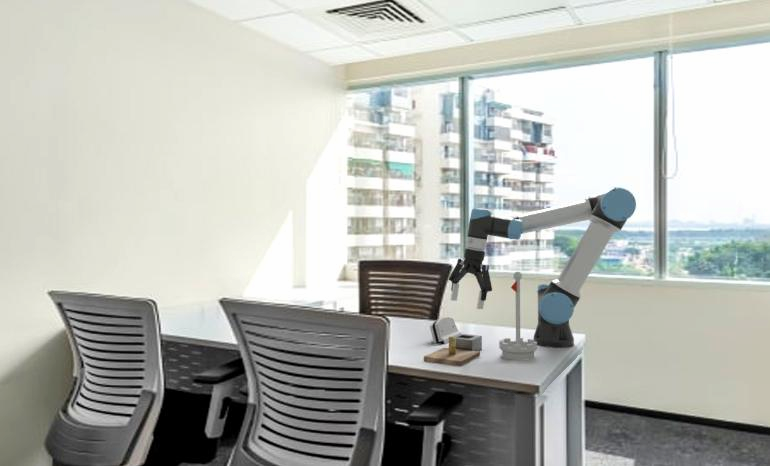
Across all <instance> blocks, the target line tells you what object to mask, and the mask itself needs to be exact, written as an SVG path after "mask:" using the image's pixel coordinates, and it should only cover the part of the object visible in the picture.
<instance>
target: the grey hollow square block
mask: <svg viewBox="0 0 770 466" xmlns="http://www.w3.org/2000/svg"><path fill="white" fill-rule="evenodd" d="M454 337H456V349H461V350H469V351H478V352H480V351H481V350H483V337H482V335H477V334H469V333H468V334H467V333H461V334H457V335H455V336H454Z"/></svg>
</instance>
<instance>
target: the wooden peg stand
mask: <svg viewBox="0 0 770 466" xmlns="http://www.w3.org/2000/svg"><path fill="white" fill-rule="evenodd" d="M479 357H481V352H480V351H469V350H461V349H456V337H454V336H450V337H449V343H448V347H442V348H441V349H438V350H435V351H434V352H430V353H428V354H426V355H424V356H423V361H424V362H429V363H430V362H431V363H437V364H443V365H444V364H446V365H452V366H460V367H462V366H463V365H466V364H468V363H469V362H471V361H473V360H475V359H478V358H479Z"/></svg>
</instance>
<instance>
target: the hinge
mask: <svg viewBox="0 0 770 466" xmlns="http://www.w3.org/2000/svg"><path fill="white" fill-rule="evenodd" d="M429 330H430V332H431V336H432V340H433V344H437V343H440V342H443V344H444V345H446V344H449V337H450V336H455V335H457V334H462V332H460V331H459V330H458V328H457V324H456V322H455V320H454V318H452V317H450V316H446V317H441V318H438V319H436V320H434V321H433V322H432V323H431V324H430V325H429Z"/></svg>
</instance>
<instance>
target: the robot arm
mask: <svg viewBox="0 0 770 466" xmlns="http://www.w3.org/2000/svg"><path fill="white" fill-rule="evenodd" d="M636 207H637V200H636V198H635V196H634V195H633V193H632V192H631V191H630V190H628V189H626V188H623V187H620V186H616V187H615V186H614V187H610V188H608V189H606V190H604V191H602V192H600V193H597V194H594V195H591V196H587V197H585V198H584V200H580V201H576V202H572V203H567V204H561V205H558V206H553V207H549V208H544V209H540V210H535V211H531V212H530V211H529V212H527V213H522V214H517V215H512V216H507V217H503V216H496V215H492V213H493V212H492V210H491V209H485V208H479V207H473V208H472V209H471V213H470V218H469V223H468V229H467V230H468V231H467V236H466V243H465V247H466V248H465V249H464V255H463V258H457V262H456V265H455V266H454V268H453V270H452V272H451V274H450V275H449V277H448V281H450V282H451V287H450V288H451V289H450V290H451V296H450V301H453V302H454V301H457V300H458V296H459V295H458V294H459V288H460V281H461V280H462V279H463V278H464V277H465V276H466V275H467V274H471V275H473V276H474V277H475V278H476V281H477V283H478V285H479V288H480V291H479V292H478V296H477V297H478V298H477V305H476V310H483V309H484V305H485V301H486V300H487V296H488V293H489V292H492V291H493V288H492V287H493V286H492V281H491V277H490V272H489V271H490V270H489V269H490V266H489V264H483V261H484V260H485V254H486V252H485V251H486V249H487V243H488V242H487V241H488V236H491V237H492V236H493V237H496V238H503V239H507V240H508V239H509V240H520V239H521V238H522V237H521V236H522V234H523V235H524V234H528V233H533V232H537V231H542V230H547V229H551V228H557V227H560V226H567V225H571V224H576V223H579V222H581V223H582V222H586V221H589V222H590V224H589V225H588V227H587V228H586V230H585V232H584V233H583V235H582V236H581V238H580V240H579V242H578V243H577V245H576V247H575V249H574V251H572V254H571V256H570V257H569V259H568V261H567V262H566V264H565V266H564V268H563V269H562V270H561V272H560V274H559V276H558V277H557V278H556V279H552V280H551V281H550V283H547V284H546V283H545V284H543V283H541V284H539V285H538V286H537V291H536V293H537V325H536V327H535V331H534V334H533V338H532V340H534V342H537V346H541V347H546V348H547V347H549V348H568V347H571V346H574V344H575V338H574V335H573V331H572V328H571V326H570V319H571V318H572V317H573V314H574V311H575V307H576V306H577V304H578V302H579V301H580V299H581V298H582V297H581V293H580V290H581V289H582V287H583V286H584V284H585V282H586V280H587V278H588V277H589V275H590V274H591V272H592V270H593V269H594V267H595V266H596V264H597V262H598V260H599V259H600V257H601V255H602V254H603V252H604V250H606V249H605V248H606V247H607V245H608V244H609V242H610V240H611V239H612V237H613V236H614V234H615V233H618V232H621V231H622V229H623V227H624V225H625V224H626V223H627V221H628V219H630V218H631V217H632V216H633V215H634V213H635V211H636V210H637V209H636Z"/></svg>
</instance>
